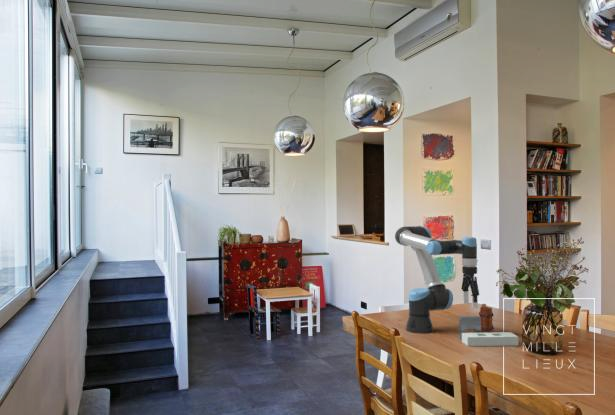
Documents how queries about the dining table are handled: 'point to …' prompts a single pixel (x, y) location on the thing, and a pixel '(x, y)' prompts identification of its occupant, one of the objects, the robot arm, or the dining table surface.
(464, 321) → the grey block
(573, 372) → the dining table surface
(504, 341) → the pale board with holes
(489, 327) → the mug
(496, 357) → the dining table surface
